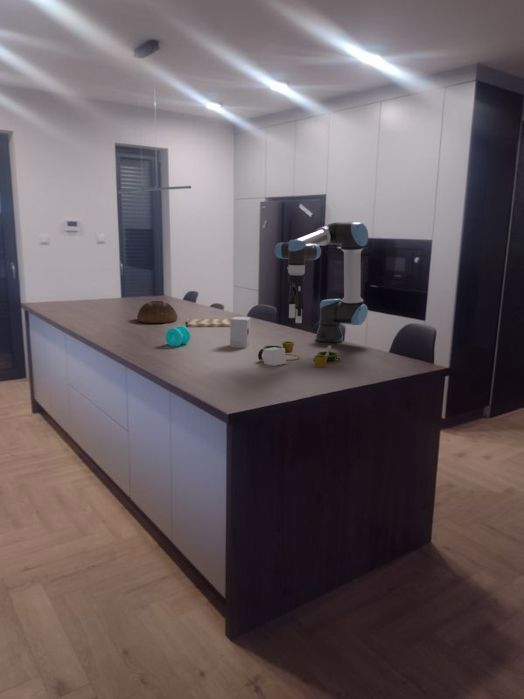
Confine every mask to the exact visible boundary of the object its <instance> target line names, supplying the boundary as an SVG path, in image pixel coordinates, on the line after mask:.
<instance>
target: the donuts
mask: <svg viewBox="0 0 524 699" xmlns="http://www.w3.org/2000/svg"><path fill="white" fill-rule="evenodd" d="M190 340H191V332H190V330H189V329H188V327H186V326H185V325H179V326H177V327H170V328H169V329H167V330H166V331H165V341H166V343H167V344H168V345H169V346H170V347H173V346H176V347H179V346H181V345H187V344H188V343H189V342H190Z"/></svg>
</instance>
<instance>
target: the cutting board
mask: <svg viewBox="0 0 524 699" xmlns="http://www.w3.org/2000/svg"><path fill="white" fill-rule="evenodd" d="M231 319H232V318H200V319H199V318H192V319H191V318H187V319H186V324H187V328H217V327H218V328H225V327H227V328H230V322H231Z"/></svg>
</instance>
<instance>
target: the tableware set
mask: <svg viewBox="0 0 524 699" xmlns="http://www.w3.org/2000/svg"><path fill="white" fill-rule="evenodd" d="M281 343H282V344H281V345H282V346H281V345H266V346H263V348H262V349H268V348H273V347H277V348H285V352H287V351H290V352H293V350H294V344H295V342H294V341H291V340H290V341H289V340H288V341H287V340H284V341H282V342H281ZM331 350H332V345H327V347H326V351H324V350H323V351H318V352H316V355H314V356H313V358H312V359H313V361H314V366H315V367H316V366H317V368H326V367H327V364H338V363H340V362H341V361H342V360H341V359H340V358H339V357H338V356H339V353H338V352H335V351H331ZM292 355H294V356H293V357H296V356H297V358H292V359H291V358H290V359H288V358H287V359H286V361H297V360H299V359H300V358H301V357H300V355H297V354H293V353H285V356H292ZM335 358H336V359H335ZM337 359H338V360H339V361H338V360H337ZM328 360H329V361H328ZM335 360H337V361H335ZM337 362H338V363H337ZM325 366H326V367H325Z"/></svg>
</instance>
